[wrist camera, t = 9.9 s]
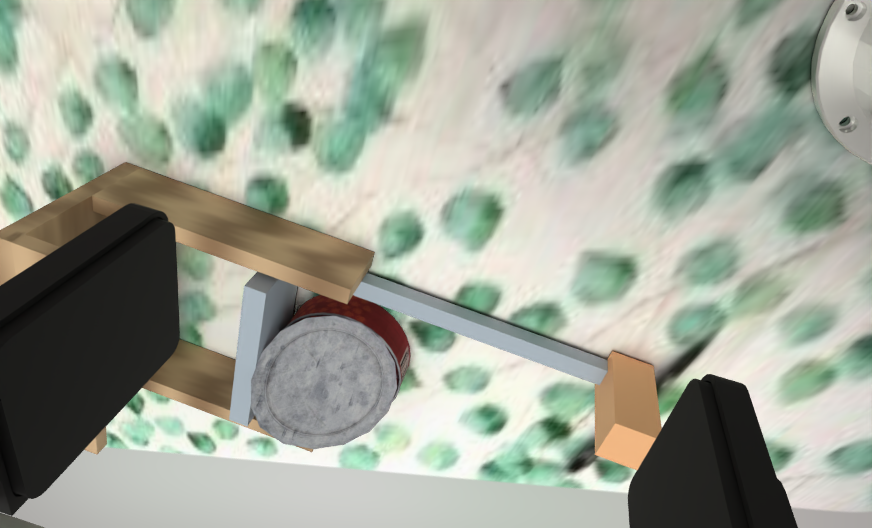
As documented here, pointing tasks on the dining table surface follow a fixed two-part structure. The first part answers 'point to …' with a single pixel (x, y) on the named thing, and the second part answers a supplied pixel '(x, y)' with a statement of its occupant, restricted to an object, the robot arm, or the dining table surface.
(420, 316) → the pull rod
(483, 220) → the dining table surface
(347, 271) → the shelf lane
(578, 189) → the dining table surface
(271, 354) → the canned food
